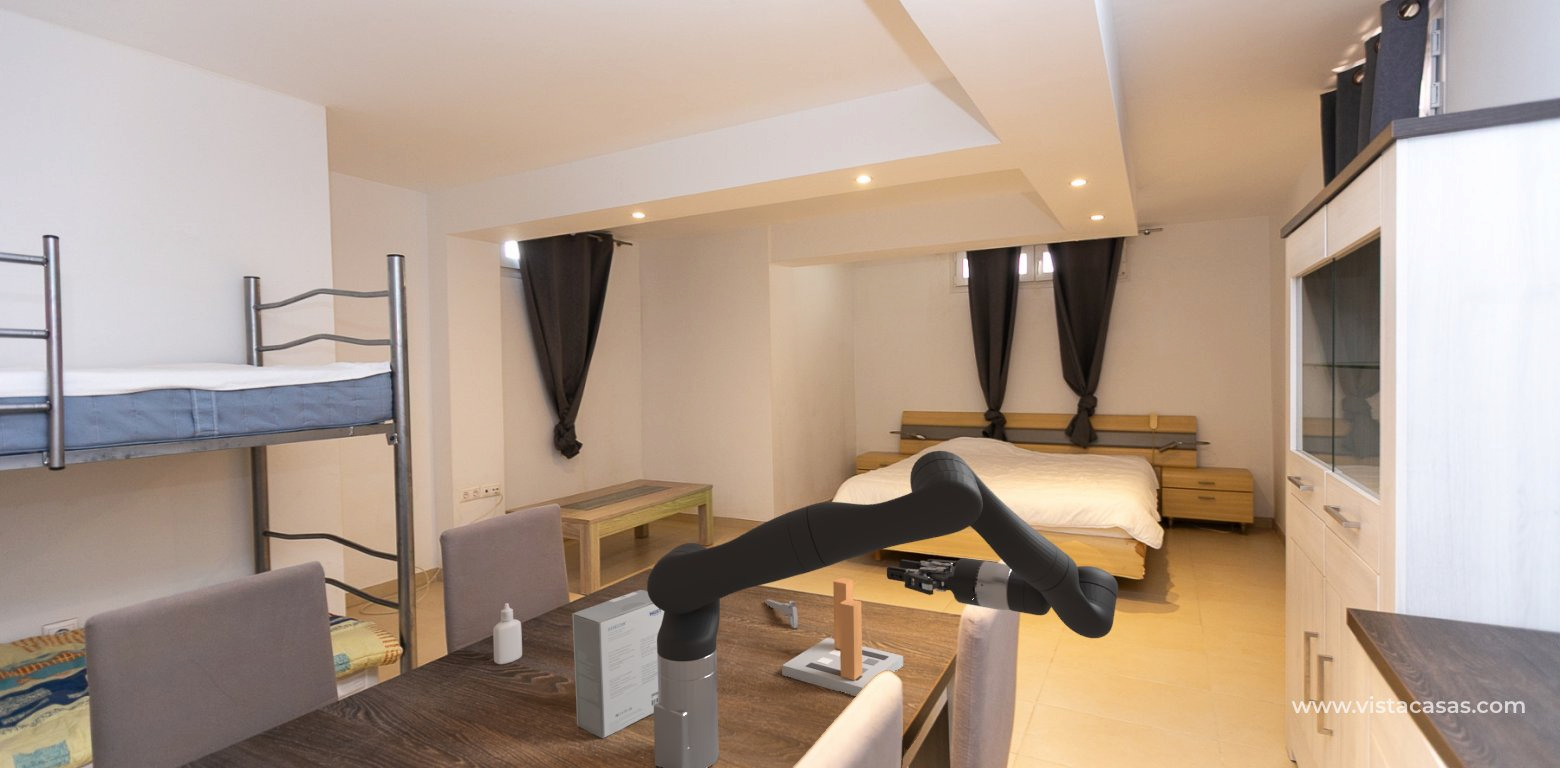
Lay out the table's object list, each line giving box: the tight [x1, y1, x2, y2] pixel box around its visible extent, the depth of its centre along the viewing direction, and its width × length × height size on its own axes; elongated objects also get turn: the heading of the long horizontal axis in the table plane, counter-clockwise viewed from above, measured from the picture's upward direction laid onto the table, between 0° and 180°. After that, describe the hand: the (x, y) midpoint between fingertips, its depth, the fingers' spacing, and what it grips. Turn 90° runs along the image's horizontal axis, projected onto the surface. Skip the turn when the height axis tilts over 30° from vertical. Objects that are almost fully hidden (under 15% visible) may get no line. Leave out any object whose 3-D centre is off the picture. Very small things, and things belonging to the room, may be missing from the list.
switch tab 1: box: [832, 577, 854, 649], centre depth 150 cm, size 3×3×14 cm
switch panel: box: [781, 637, 904, 697], centre depth 144 cm, size 17×18×2 cm
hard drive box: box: [572, 589, 664, 739], centre depth 127 cm, size 16×8×20 cm, turn 141°
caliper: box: [763, 598, 799, 629], centre depth 176 cm, size 20×1×6 cm, turn 21°
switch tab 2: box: [840, 599, 863, 680], centre depth 137 cm, size 3×3×14 cm
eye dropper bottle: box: [492, 602, 523, 665], centre depth 152 cm, size 4×6×12 cm
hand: (894, 568), depth 131 cm, fingers open, 4 cm apart
